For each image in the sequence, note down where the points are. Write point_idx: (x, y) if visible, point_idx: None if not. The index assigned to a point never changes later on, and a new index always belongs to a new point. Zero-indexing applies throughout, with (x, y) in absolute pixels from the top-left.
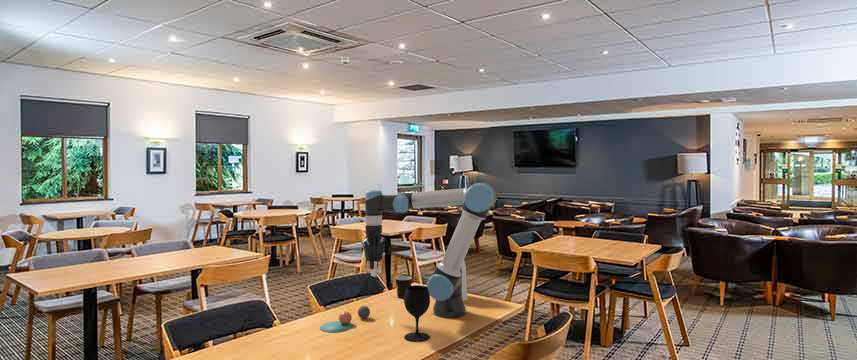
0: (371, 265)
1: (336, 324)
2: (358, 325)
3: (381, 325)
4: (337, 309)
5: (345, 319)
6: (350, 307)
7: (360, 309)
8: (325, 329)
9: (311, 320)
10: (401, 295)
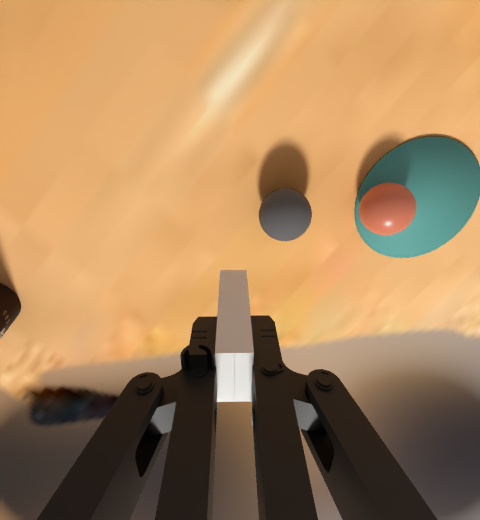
0: (277, 345)
1: None
2: (357, 152)
3: (299, 72)
4: None
5: (407, 188)
6: None
7: (308, 218)
8: (463, 203)
9: (404, 310)
10: (5, 298)
